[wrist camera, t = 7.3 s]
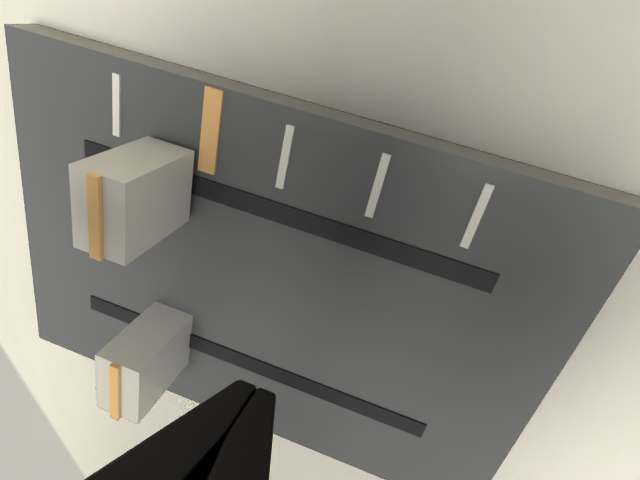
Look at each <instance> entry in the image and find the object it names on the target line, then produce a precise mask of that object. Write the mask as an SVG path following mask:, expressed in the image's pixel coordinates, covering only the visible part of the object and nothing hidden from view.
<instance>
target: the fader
mask: <svg viewBox="0 0 640 480" xmlns="http://www.w3.org/2000/svg"><path fill="white" fill-rule="evenodd" d="M194 153H195V151H194V150H190V149H187V148H184V147H181V146H178V145H175V144H171V143H168V142H165V141H162V140H159V139H156V138H153V137H149V136H146V137H144V138H141V139H138V140H135V141H132V142H130V143H127V144H124V145H121V146H118V147H115V148H113V149H110V150H107V151H104V152H101V153H98V154H96V155H93V156H90V157H87V158H84V159H81V160H79V161H76V162H73V163H70V164H68V165H69V183H70V200H71V217H72V234H73V247H74V248H77V249H80V250H82V251H85V252H88V253H89V257H90V258H92V259H95V260H98V261H101V260H103V259H107V260H109V261H112V262H115V263H117V264H120V265H123V266H126V265H127V264H129V263H130V262H132V261H133V260H134V259H136V258H137V257H139V256H140V255H141V254H143V253H144V252H146V251H147V250H148V249H150V248H151V247H153V246H154V245H156V244H157V243H158V242H160V241H161V240H163V239H164V238H165V237H167V236H168V235H170V234H171V233H172V232H174V231H175V230H177V229H178V228H179V227H181V226H182V225H184V224H185V223H186V222H188V221H189V214H190V202H191V189H192V177H193V165H194Z"/></svg>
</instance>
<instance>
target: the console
mask: <svg viewBox="0 0 640 480" xmlns="http://www.w3.org/2000/svg"><path fill="white" fill-rule="evenodd" d="M4 27H5V36H6V45H7V53H8V62H9V71H10V80H11V89H12V98H13V107H14V116H15V124H16V133H17V142H18V151H19V160H20V169H21V178H22V186H23V195H24V204H25V213H26V222H27V231H28V240H29V249H30V257H31V266H32V275H33V284H34V293H35V302H36V311H37V320H38V328H39V337H40V338H42V339H44V340H47V341H49V342H51V343H54V344H56V345H59V346H61V347H64V348H66V349H68V350H71V351H73V352H76V353H78V354H81V355H83V356H86V357H88V358H90V359H93V360H95V374H96V401H97V407H98V408H101V409H103V410H105V411H108V412H110V418H113V419H115V420H117V421H118V420H119V419H120V418H121V417H122V418H124V419H127V420H129V421H131V422H134V423H136V424H139V422H140V421H141V420H142V419H143V418H144V416H145V415H146V414H147V413H148V411H149V410H150V409H151V408H152V407H153V405H154V404H155V403H156V402H157V400H158V399H159V398H160V397H161V396H162V394H163V393H164V392H165V391H166V390H168V391H171V392H173V393H176V394H178V395H181V396H183V397H185V398H188V399H190V400H193V401H195V402H198V403H200V404H201V403H203V402H204V401H206V400H207V399H209V398H210V397H212V396H213V395H215V394H216V393H218V392H219V391H221V390H223V389H224V388H226V387H227V386H229V385H230V384H232V383H233V382H235V381H237V380H243V381H246V382H248V383H251V384H253V385H255V386H256V387H257V388H259V387H260V388H263V389H266V390H268V391H271V392H274V393H275V394H276V404H275V416H274V427H273V434H276V435H278V436H280V437H283V438H285V439H288V440H290V441H293V442H295V443H297V444H300V445H302V446H305V447H307V448H310V449H312V450H315V451H317V452H319V453H322V454H324V455H327V456H329V457H332V458H334V459H336V460H339V461H341V462H344V463H346V464H349V465H351V466H353V467H356V468H358V469H361V470H363V471H366V472H368V473H371V474H373V475H375V476H378V477H380V478H383V479H385V480H491V479H492V478H493V476H494V475H495V473H496V472H497V470H498V469H499V467H500V465H501V464H502V462H503V461H504V459H505V458H506V456H507V455H508V453H509V451H510V450H511V448H512V447H513V445H514V444H515V442H516V440H517V439H518V437H519V436H520V434H521V433H522V431H523V430H524V428H525V426H526V425H527V423H528V422H529V420H530V419H531V417H532V416H533V414H534V412H535V411H536V409H537V408H538V406H539V405H540V403H541V402H542V400H543V398H544V397H545V395H546V394H547V392H548V391H549V389H550V388H551V386H552V384H553V383H554V381H555V380H556V378H557V377H558V375H559V374H560V372H561V370H562V369H563V367H564V366H565V364H566V363H567V361H568V359H569V358H570V356H571V355H572V353H573V352H574V350H575V349H576V347H577V345H578V344H579V342H580V341H581V339H582V338H583V336H584V335H585V333H586V331H587V330H588V328H589V327H590V325H591V324H592V322H593V321H594V319H595V317H596V316H597V314H598V313H599V311H600V310H601V308H602V307H603V305H604V303H605V302H606V300H607V299H608V297H609V296H610V294H611V293H612V291H613V289H614V288H615V286H616V285H617V283H618V282H619V280H620V278H621V277H622V275H623V274H624V272H625V271H626V269H627V268H628V266H629V264H630V263H631V261H632V260H633V258H634V257H635V255H636V254H637V252H638V250H639V249H640V197H639V196H636V195H632V194H629V193H625V192H622V191H618V190H615V189H611V188H608V187H604V186H601V185H597V184H594V183H590V182H587V181H583V180H580V179H576V178H573V177H569V176H566V175H562V174H559V173H555V172H552V171H548V170H545V169H541V168H538V167H534V166H531V165H527V164H524V163H520V162H517V161H513V160H510V159H506V158H503V157H499V156H496V155H492V154H489V153H485V152H482V151H479V150H475V149H472V148H468V147H465V146H461V145H458V144H454V143H451V142H447V141H444V140H440V139H437V138H433V137H430V136H426V135H423V134H419V133H416V132H412V131H409V130H405V129H402V128H398V127H395V126H391V125H388V124H384V123H381V122H377V121H374V120H370V119H367V118H363V117H360V116H356V115H353V114H349V113H346V112H342V111H339V110H335V109H332V108H328V107H325V106H321V105H318V104H314V103H311V102H307V101H304V100H300V99H297V98H293V97H290V96H286V95H283V94H279V93H276V92H272V91H269V90H265V89H262V88H258V87H255V86H251V85H248V84H244V83H241V82H237V81H234V80H230V79H227V78H223V77H220V76H216V75H213V74H209V73H206V72H202V71H199V70H195V69H192V68H188V67H185V66H181V65H178V64H174V63H171V62H167V61H164V60H160V59H157V58H153V57H150V56H146V55H143V54H139V53H136V52H132V51H129V50H125V49H122V48H118V47H115V46H111V45H108V44H104V43H101V42H97V41H94V40H90V39H87V38H83V37H80V36H76V35H73V34H69V33H66V32H63V31H59V30H56V29H52V28H49V27H45V26H42V25H38V24H4ZM146 136H149V137H153V138H156V139H159V140H162V141H165V142H168V143H171V144H175V145H178V146H181V147H184V148H187V149H190V150H194V151H195V153H194V165H193V177H192V189H191V202H190V214H189V221H188V222H186V223H185V224H184V225H182V226H181V227H179V228H178V229H177V230H175V231H174V232H172V233H171V234H170V235H168V236H167V237H165V238H164V239H163V240H161V241H160V242H158V243H157V244H156V245H154V246H153V247H151V248H150V249H148V250H147V251H146V252H144V253H143V254H141V255H140V256H139V257H137V258H136V259H134V260H133V261H132V262H130V263H129V264H127V265H126V266H123V265H120V264H117V263H115V262H112V261H109V260H107V259H103V260H101V261H98V260H95V259H92V258H90V257H89V253H88V252H85V251H82V250H80V249H77V248H74V247H73V234H72V217H71V200H70V183H69V165H68V164H70V163H73V162H76V161H79V160H81V159H84V158H87V157H90V156H93V155H96V154H98V153H101V152H104V151H107V150H110V149H113V148H115V147H118V146H121V145H124V144H127V143H130V142H132V141H135V140H138V139H141V138H144V137H146Z"/></svg>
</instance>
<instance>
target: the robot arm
mask: <svg viewBox="0 0 640 480" xmlns="http://www.w3.org/2000/svg"><path fill="white" fill-rule="evenodd" d="M275 404H276V394H275V393H274V392H271V391H268V390H266V389H263V388H260V387H259V388H257V387H256V386H255V385H253V384H251V383H248V382H246V381H243V380H237V381H235V382H233V383H232V384H230V385H229V386H227V387H226V388H224V389H223V390H221V391H219V392H218V393H216V394H215V395H213V396H212V397H210V398H209V399H207V400H206V401H204V402H203V403H201V404H199V405H198V406H196V407H195V408H193V409H192V410H190V411H189V412H187V413H186V414H184V415H183V416H181V417H180V418H178V419H176V420H175V421H173V422H172V423H170V424H169V425H167V426H166V427H164V428H163V429H161V430H160V431H158V432H156V433H155V434H153V435H152V436H150V437H149V438H147V439H146V440H144V441H143V442H141V443H140V444H138V445H137V446H135V447H133V448H132V449H130V450H129V451H127V452H126V453H124V454H123V455H121V456H120V457H118V458H117V459H115V460H113V461H112V462H110V463H109V464H107V465H106V466H104V467H103V468H101V469H100V470H98V471H97V472H95V473H94V474H92V475H90V476H89V477H87V478H86V479H84V480H269V473H270V462H271V450H272V439H273V427H274V416H275Z"/></svg>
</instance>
